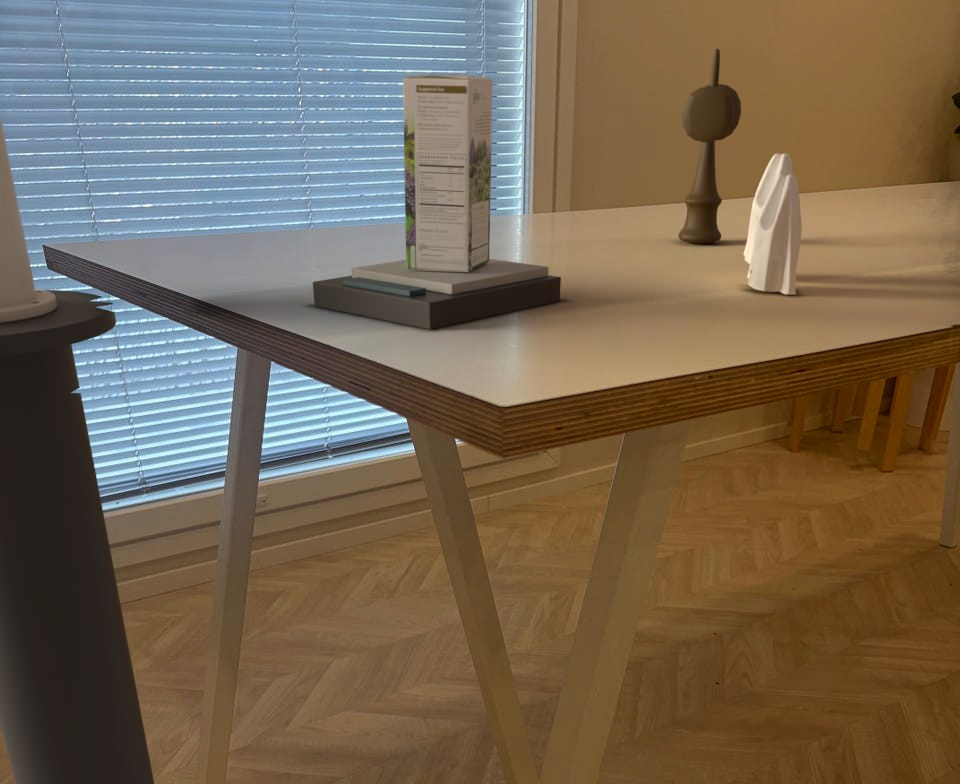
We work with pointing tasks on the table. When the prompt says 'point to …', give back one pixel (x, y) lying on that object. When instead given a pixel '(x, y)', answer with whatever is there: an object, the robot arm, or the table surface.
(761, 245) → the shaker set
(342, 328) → the table surface
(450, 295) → the scale
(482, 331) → the table surface
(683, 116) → the kendama
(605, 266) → the table surface
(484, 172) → the syrup box
